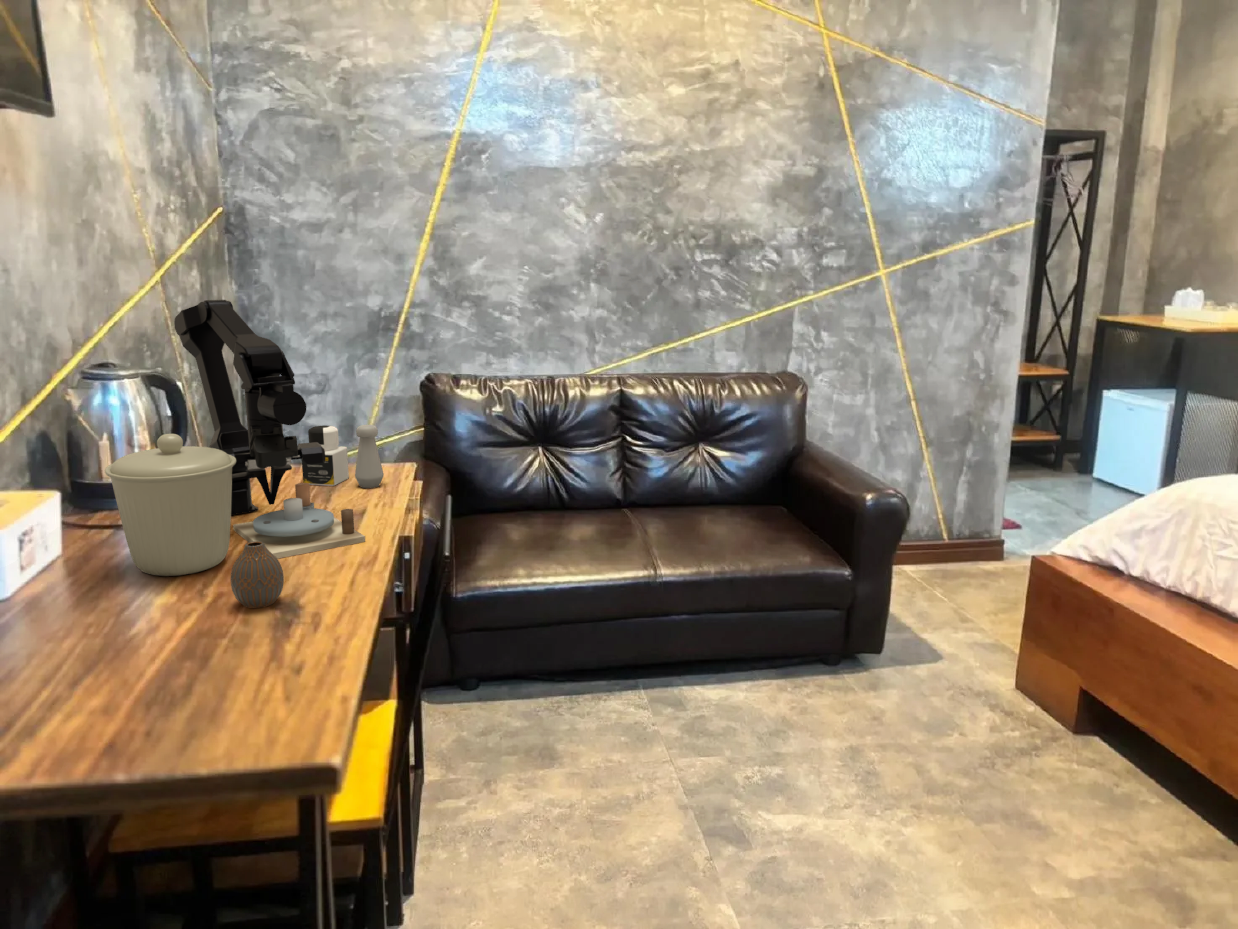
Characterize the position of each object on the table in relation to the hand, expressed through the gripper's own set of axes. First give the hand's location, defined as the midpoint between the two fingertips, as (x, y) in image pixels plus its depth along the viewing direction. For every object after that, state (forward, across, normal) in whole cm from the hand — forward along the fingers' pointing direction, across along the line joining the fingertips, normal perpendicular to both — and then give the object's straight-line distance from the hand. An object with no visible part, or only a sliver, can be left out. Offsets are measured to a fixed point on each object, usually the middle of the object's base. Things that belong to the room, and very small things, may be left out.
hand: (271, 504), depth 161 cm
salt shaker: (+5, +22, +24) cm, 32 cm away
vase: (+5, -6, -36) cm, 37 cm away
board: (+4, +3, -6) cm, 8 cm away
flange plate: (+2, +3, -6) cm, 7 cm away
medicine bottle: (+5, +14, +31) cm, 35 cm away
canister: (+5, -15, -15) cm, 22 cm away
